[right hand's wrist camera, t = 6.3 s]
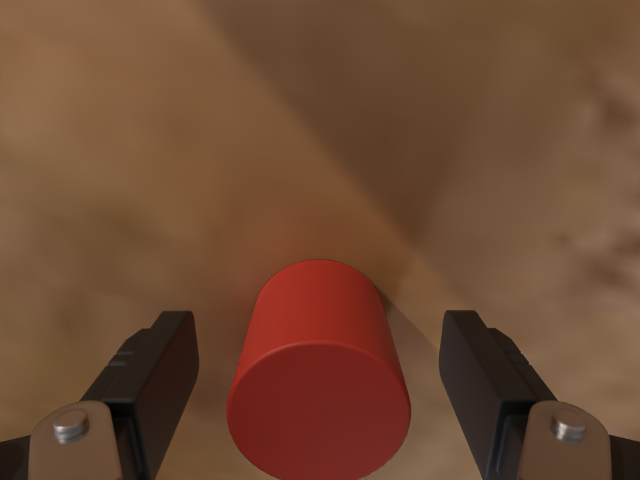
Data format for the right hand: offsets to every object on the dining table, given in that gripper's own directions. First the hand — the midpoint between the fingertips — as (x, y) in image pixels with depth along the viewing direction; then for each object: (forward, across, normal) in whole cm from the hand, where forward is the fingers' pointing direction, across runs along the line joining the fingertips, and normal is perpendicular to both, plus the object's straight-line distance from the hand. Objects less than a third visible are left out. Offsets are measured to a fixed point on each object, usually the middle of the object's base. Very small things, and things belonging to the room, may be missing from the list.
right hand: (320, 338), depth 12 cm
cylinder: (+1, 0, 0) cm, 1 cm away
